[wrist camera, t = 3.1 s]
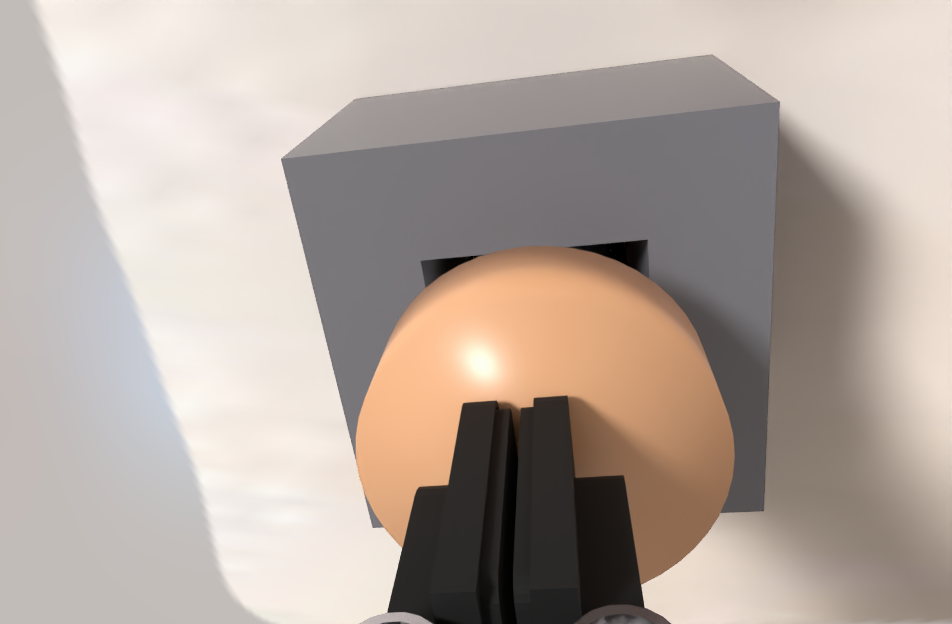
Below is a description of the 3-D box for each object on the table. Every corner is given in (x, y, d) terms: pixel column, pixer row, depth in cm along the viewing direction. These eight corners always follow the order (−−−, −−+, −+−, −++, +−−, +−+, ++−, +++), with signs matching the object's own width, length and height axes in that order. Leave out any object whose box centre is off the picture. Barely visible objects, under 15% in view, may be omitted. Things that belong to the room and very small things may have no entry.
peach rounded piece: (667, 151, 17) (737, 279, 10) (672, 383, 19) (732, 598, 13) (402, 180, 17) (318, 314, 11) (441, 399, 20) (391, 608, 14)
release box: (712, 54, 18) (779, 101, 13) (711, 372, 22) (763, 511, 17) (354, 99, 20) (281, 158, 14) (413, 393, 23) (372, 527, 18)
